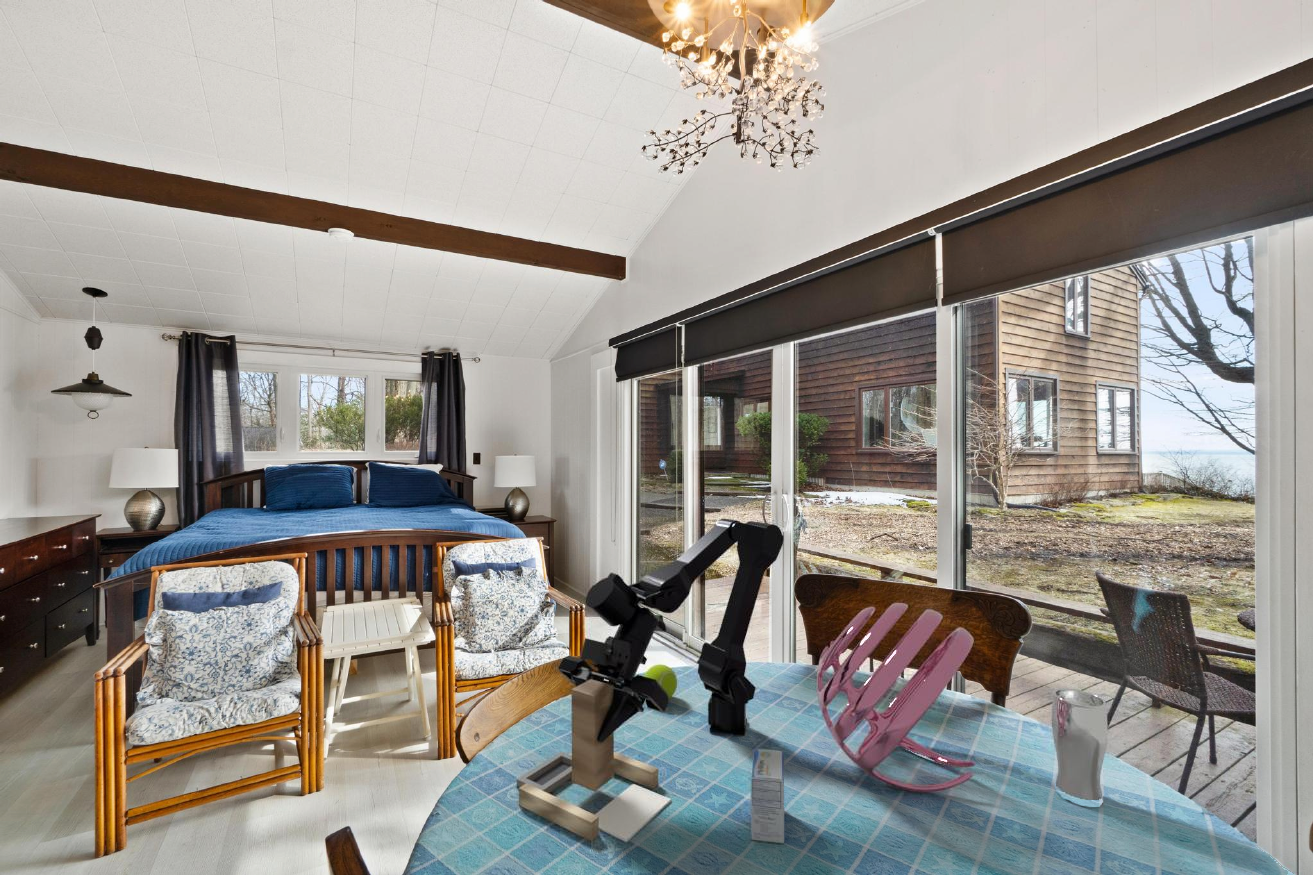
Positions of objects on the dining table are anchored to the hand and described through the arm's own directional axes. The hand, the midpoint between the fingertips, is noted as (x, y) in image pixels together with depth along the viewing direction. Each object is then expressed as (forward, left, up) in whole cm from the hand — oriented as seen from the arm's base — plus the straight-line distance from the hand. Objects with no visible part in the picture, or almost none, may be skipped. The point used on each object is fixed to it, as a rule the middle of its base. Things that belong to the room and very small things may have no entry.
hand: (586, 736), depth 89 cm
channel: (0, -2, -9) cm, 10 cm away
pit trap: (+7, -4, -9) cm, 13 cm away
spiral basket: (-47, -20, -10) cm, 52 cm away
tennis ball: (-4, -36, -10) cm, 37 cm away
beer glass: (-73, -17, -10) cm, 75 cm away
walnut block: (-1, -1, -7) cm, 7 cm away
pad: (-7, +1, -9) cm, 12 cm away
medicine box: (-27, 0, -10) cm, 28 cm away
